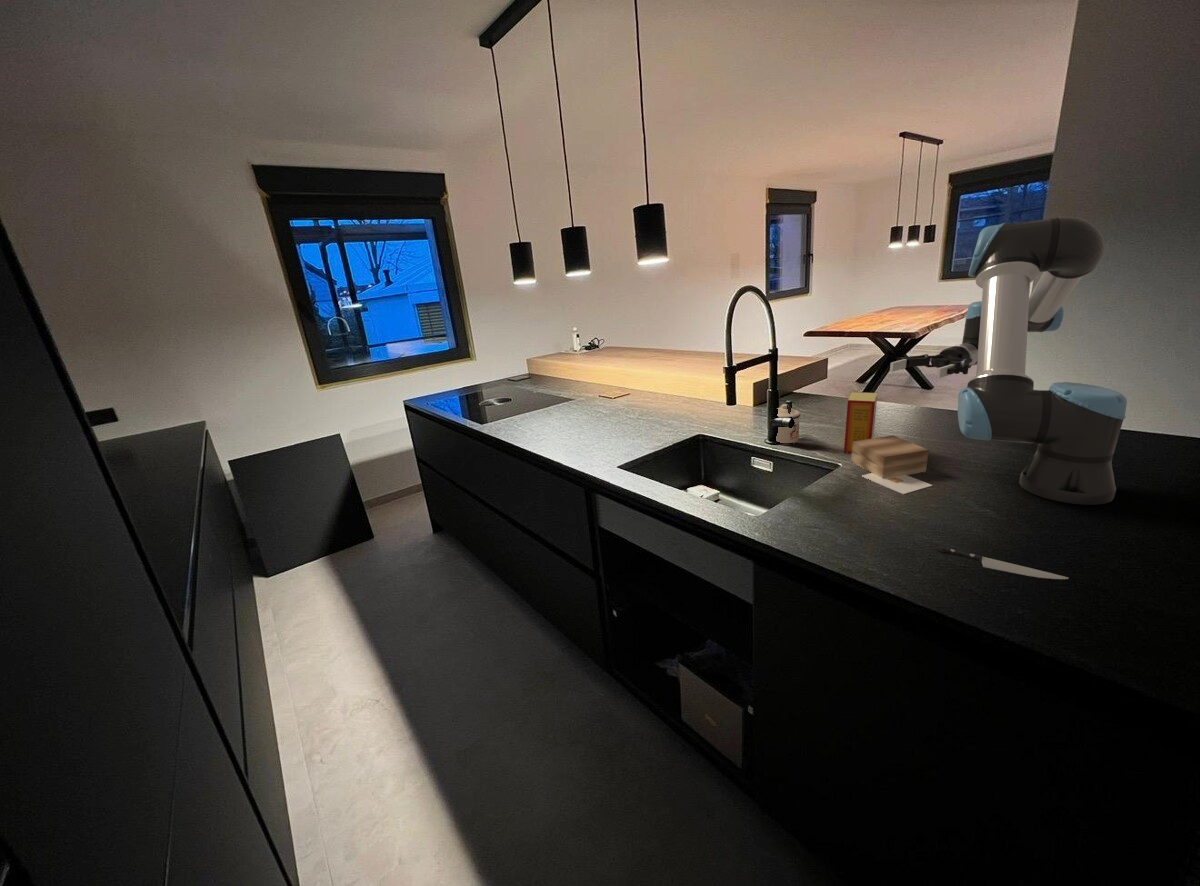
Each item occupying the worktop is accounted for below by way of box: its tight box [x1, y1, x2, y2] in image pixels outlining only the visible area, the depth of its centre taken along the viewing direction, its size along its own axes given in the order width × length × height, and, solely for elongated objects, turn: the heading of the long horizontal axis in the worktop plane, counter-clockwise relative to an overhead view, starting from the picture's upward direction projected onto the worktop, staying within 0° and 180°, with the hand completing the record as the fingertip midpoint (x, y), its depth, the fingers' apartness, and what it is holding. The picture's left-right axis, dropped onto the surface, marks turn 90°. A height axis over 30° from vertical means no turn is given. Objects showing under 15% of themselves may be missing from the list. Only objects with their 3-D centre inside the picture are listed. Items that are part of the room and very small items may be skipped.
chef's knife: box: [936, 546, 1069, 580], centre depth 83 cm, size 19×1×3 cm
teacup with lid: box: [776, 403, 801, 443], centre depth 149 cm, size 12×9×12 cm
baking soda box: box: [843, 391, 879, 454], centre depth 135 cm, size 10×6×16 cm
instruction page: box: [861, 472, 933, 495], centre depth 116 cm, size 12×9×1 cm
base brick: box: [850, 434, 930, 478], centre depth 123 cm, size 12×12×6 cm
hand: (913, 370), depth 138 cm, fingers open, 13 cm apart
